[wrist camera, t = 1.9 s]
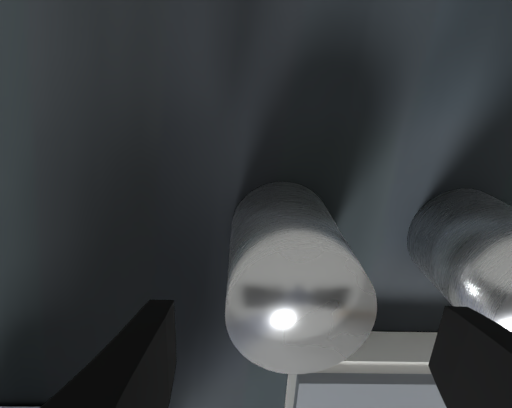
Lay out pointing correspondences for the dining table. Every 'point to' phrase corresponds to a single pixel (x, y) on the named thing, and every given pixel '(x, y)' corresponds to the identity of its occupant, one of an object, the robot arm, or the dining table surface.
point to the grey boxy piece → (373, 376)
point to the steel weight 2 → (467, 251)
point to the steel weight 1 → (294, 283)
